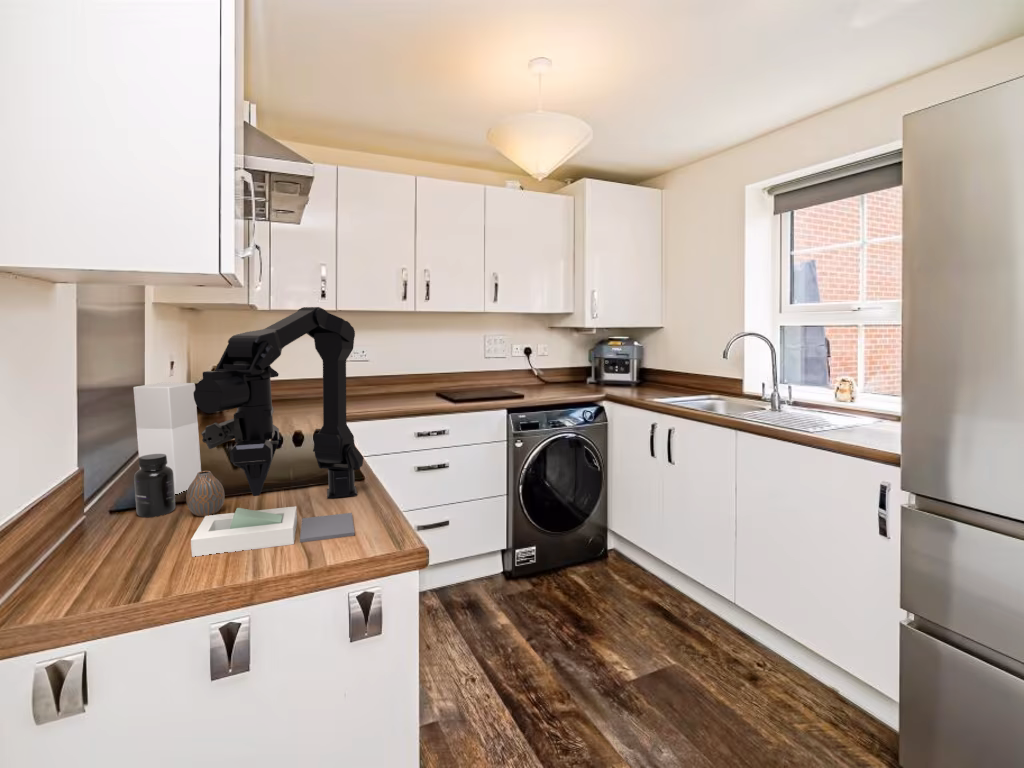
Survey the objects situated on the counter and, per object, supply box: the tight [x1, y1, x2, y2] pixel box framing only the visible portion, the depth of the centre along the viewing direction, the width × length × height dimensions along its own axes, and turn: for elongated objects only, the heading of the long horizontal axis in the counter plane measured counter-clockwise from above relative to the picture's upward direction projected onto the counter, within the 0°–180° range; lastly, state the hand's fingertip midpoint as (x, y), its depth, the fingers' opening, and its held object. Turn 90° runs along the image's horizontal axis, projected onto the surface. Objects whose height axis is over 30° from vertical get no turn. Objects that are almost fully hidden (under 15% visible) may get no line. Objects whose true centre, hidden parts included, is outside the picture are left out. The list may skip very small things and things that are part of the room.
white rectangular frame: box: [190, 505, 298, 558], centre depth 99 cm, size 12×16×3 cm
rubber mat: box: [299, 512, 355, 543], centre depth 104 cm, size 11×10×1 cm
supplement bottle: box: [133, 454, 176, 518], centre depth 112 cm, size 7×7×12 cm
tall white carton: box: [133, 382, 202, 495], centre depth 127 cm, size 9×9×25 cm
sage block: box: [230, 507, 282, 529], centre depth 99 cm, size 4×8×3 cm, turn 110°
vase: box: [185, 470, 225, 517], centre depth 111 cm, size 7×7×9 cm
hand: (259, 487), depth 99 cm, fingers open, 9 cm apart
